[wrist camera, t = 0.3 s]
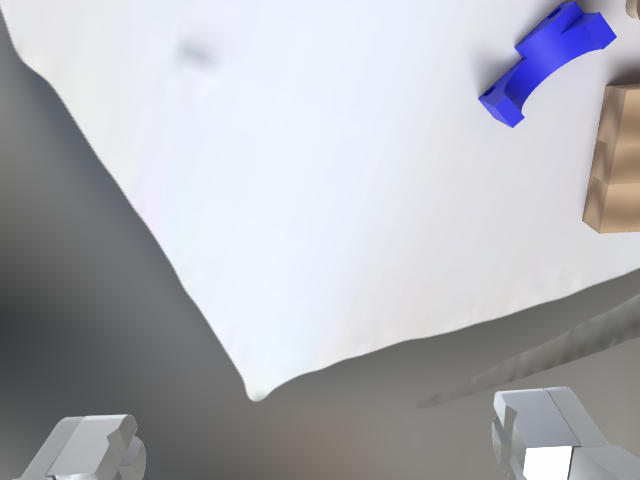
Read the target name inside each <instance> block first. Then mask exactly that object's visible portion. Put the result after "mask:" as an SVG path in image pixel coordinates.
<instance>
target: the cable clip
mask: <svg viewBox="0 0 640 480" xmlns="http://www.w3.org/2000/svg"><path fill="white" fill-rule="evenodd" d="M615 38H617V36H616V35H615V33H614V32H613V31H612V29H611V28H610V26H609V25H608V24H607V22H606V21H605V19H604V18H603V17H602V15H601V14H600V12H599V13H583V12H582V10H581V9H580V7H579V6H578V5H577V3H576V2H566V3H562V4H561V5H559V6H558V7H557V8H556V9H555V10H554V11H553V12H552V13H551V14H550V15H549V16H548V17H547V18H545V19H544V20H543V21H542V22H541V23H540V24H539V25H538V26H537V27H536V28H535V29H534V30H533V31H532V32H530V33H529V34H528V35H527V36H526V37H525V38H524V39H523V40H522V41H521V42H520V43H519V44H518V45H517V46H515V47H514V48H515V49H516V50H517V52H518V53H519V54H520V55H521V57H522V59H521V60H520V61H519V62H518V63H517V64H516V65H515V66H513V67H512V68H511V69H510V70H509V71H508V72H507V73H506V74H505V75H504V76H503V77H502V78H500V79H499V80H498V81H497V82H496V83H495V84H494V85H493V86H492V87H491V88H490V89H488V90H487V91H486V92H485V93H484V94H483V95H482V96H481V97H480V98H479V101H480V102H481V103H482V104H483V105H484V107H485V108H486V109H487V110H488V111H489V112H490V114H491V115H492V116H493V117H494V118H495V119H497V120H499V121H501V122H502V123H504V124H506V125H508V126H510V127H512V128H513V127H514V126H516V125H517V124H518V123H519V122H520V121H521V120H522V119H524V118H525V117H524V116H523V115H522V113H521V110H522V106H523V104H524V102H525V101H526V99H527V98H528V96H529V95H530V94H531V92H532V91H533V90H534V89H535V88H536V87H537V86H538V85H539V84H540V83H541V82H542V81H543V80H544V79H545V78H547V77H548V76H549V75H550V74H552V73H553V72H554V71H555V70H557V69H558V68H560V67H561V66H563V65H564V64H566V63H567V62H569V61H571V60H572V59H574V58H576V57H578V56H580V55H582V54H585V53H587V52H590V51H593V50H598V49H604V48H605V47H606V46H607V45H609V44H610V43H611V42H612V41H613V40H614V39H615Z"/></svg>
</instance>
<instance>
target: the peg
mask: <svg viewBox="0 0 640 480" xmlns="http://www.w3.org/2000/svg"><path fill="white" fill-rule="evenodd" d="M626 12H627V14H628V15H629V16H630V17H632V18H639V19H640V0H627V2H626Z"/></svg>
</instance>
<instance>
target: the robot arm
mask: <svg viewBox="0 0 640 480" xmlns="http://www.w3.org/2000/svg"><path fill="white" fill-rule="evenodd" d="M494 408H495V410H496V412H497V415H498V416H497V417H496V418H495V419H494V420H493V422H492V437H493V445H494V449H495V453H496V456H497V459H498V462H499V464H500V467H502V468H503V469H504V470H505V471H507V472H508V473H509V475H508V476H509V477H508V480H640V459H639V458H637V457H636V456H634V455H632V454H631V453H629V452H628V451H626V450H624V449H623V448H621V447H619V446H618V445H611V446H610V445H609V443H608V442H607V440H606V439H605V438H604V436H603V435H602V433H601V432H600V430H599V429H598V427H597V426H596V425H595V423H594V422H593V420H592V419H591V417H590V416H589V414H588V413H587V411H586V410H585V409H584V407H583V405H582V404H581V403H580V401H579V400H578V398H577V397H576V395H575V394H574V392H573V391H572V389H570V388H568V387H567V386H566V387H552V388H543V389H528V390H514V391H500V392H496V394H495V397H494ZM136 429H137V425H136V422H135V419H134V417H133V416H131V415H105V416H86V417H66V418H64V419H62V420H61V421H59V423H58V424H57V425H56V427H55V428H54V430H53V431H52V433H51V434H50V436H49V437H48V439H47V440H46V442H45V443H44V444H43V446H42V448H41V449H40V450H39V452H38V453H37V455H36V456H35V458H34V459H33V460H32V462H31V463H30V465H29V466H28V468H27V469H26V471H25V472H24V474H23V475H22V477H21V478H16V479H12V480H142V477H143V475H144V468H145V462H146V458H145V449H144V446H143V442H142V441H141V440H139V439H138V438H137V437H136V436H134V433H135V431H136Z"/></svg>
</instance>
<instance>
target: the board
mask: <svg viewBox="0 0 640 480" xmlns="http://www.w3.org/2000/svg"><path fill="white" fill-rule="evenodd" d="M582 221H583V222H585V223H586V224H587V225H589V226H590V227H591V228H593V229H594V230H595V231H597V232H598V233H599V234H600V233H620V232H640V84H626V85H609V86H606V89H605V94H604V100H603V106H602V111H601V117H600V123H599V128H598V134H597V140H596V146H595V151H594V157H593V163H592V168H591V174H590V180H589V185H588V191H587V197H586V203H585V208H584V214H583V220H582Z"/></svg>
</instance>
